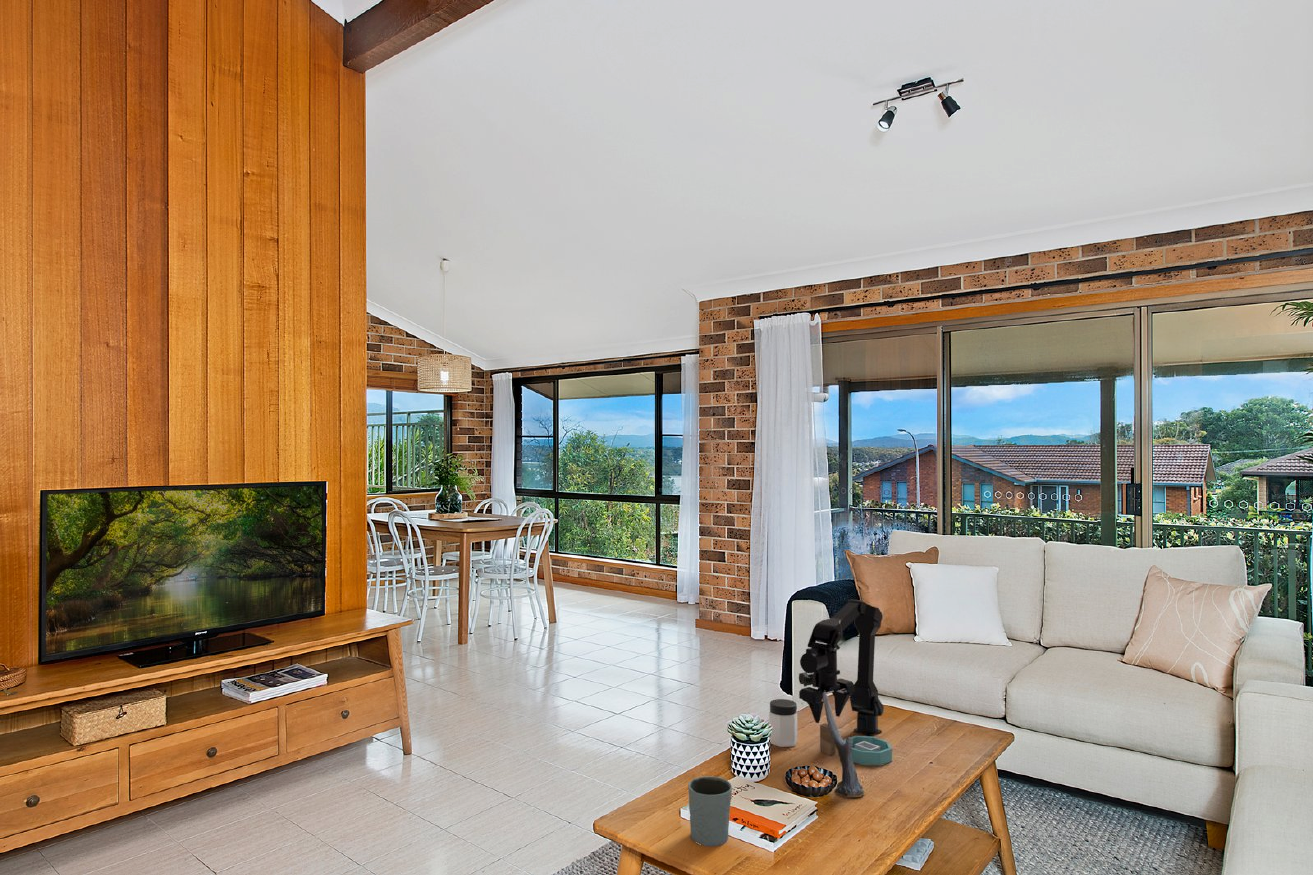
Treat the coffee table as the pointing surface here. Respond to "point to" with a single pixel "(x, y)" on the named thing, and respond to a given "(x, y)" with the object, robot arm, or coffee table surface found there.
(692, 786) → the grey cup
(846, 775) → the antler
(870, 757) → the dish
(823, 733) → the brown wooden block
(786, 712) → the jar
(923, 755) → the coffee table surface
